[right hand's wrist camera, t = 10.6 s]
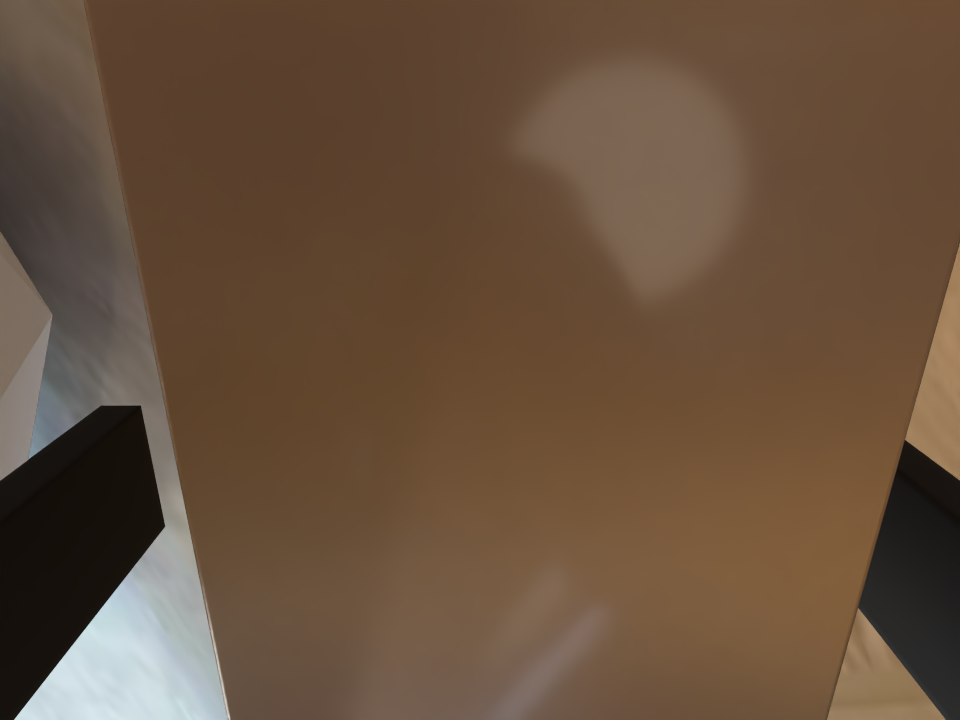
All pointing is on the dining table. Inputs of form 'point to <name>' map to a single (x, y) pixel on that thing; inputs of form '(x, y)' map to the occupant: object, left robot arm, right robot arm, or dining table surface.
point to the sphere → (19, 358)
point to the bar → (535, 336)
